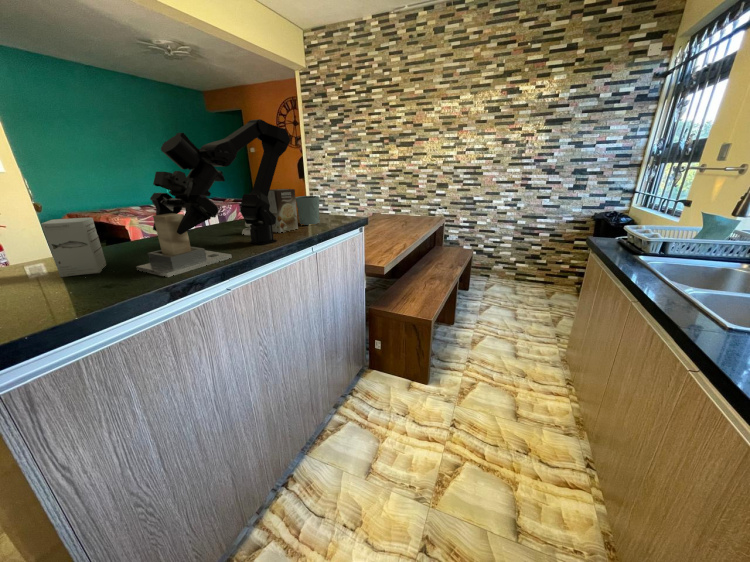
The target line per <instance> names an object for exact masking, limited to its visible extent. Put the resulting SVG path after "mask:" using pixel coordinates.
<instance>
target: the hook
mask: <svg viewBox="0 0 750 562" xmlns="http://www.w3.org/2000/svg"><path fill="white" fill-rule="evenodd" d="M239 213H240V214H241V212H240V209H239ZM250 225H252V224H246V222H245V221H244V226H245V227H247V228H243V229H242V232H241V235H243V234H244V235H243V236H251V235H250V230H251V227H250Z"/></svg>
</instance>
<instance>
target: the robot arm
mask: <svg viewBox="0 0 750 562" xmlns="http://www.w3.org/2000/svg"><path fill="white" fill-rule="evenodd" d="M255 139H257V140H259V141H260V142H261V146H262V149H263V153H262V156H261V160H260V163H259V166H258V170H257V173H256V176H255V179H254V184H253V187H252V190H251V191H250V192H249V193H244V194H243V195H242V199H241V201H240V204H239V207H240V208H239V210H240V211H239V213H240V212H241V213H240V215H242V217H243V220H244V223H245V222H246V224H252V225H250V227H251V230H250V235H249V236H250V240H249V243H250V244H256V245H263V246H264V245H266V244H270V243H275V242H277V241H278V239H275V238H274V232H273V230H272V225H273V224H275V223H276V217H275V216H274V215H273V214H272V213H271V212H270V211H269V209H270V203H269V200H268V194H269V190H270V189H271V186H272V183H273V180H274V175H275V172H276V170H277V169H276V168H277V165H278V162H279V159H280V157H281V156H282V155H283V154H284V153H285V152H286V151H287V149H288V146H289V145H290V140H291V138H290V134H289V132H288V131H287V129H285V128H283V127H279V126H277V125H274V124H271V123H268V122H266V120H263V119H251V120H248V121H247V123H245V124H244V125H243V126H241V127H240V128H238V129H236V130H235V131H233V132H232V133H230V134H229V135H228V136H226V137H225V138H222V139H220V140H216V141H215V140H214V141H212V142H209V143H205V144H204V145H201V147H200V148H198V147H197V146H196V145H195V144H194V143H193V142H192V141H191V140H190V139H189V137H188V136H187V135H186V134H185V133H184V132H177V133H176V134H175V135H174V136H172V137H170V138H169V139H167V141H166V140H165V141H164V142H163V143H162V146H161V147H160V150H161V152H162V153H163V154H164V155H165V156H167V158H169V159H170V160H171V161H172V162H173V163H174V164H176V165H177V167H179V168H180V169H181V170H188V171H189V172H188V174H187V176H186V173H185V172H183V171H181V170H175V171H173V172H167V171H155V173H154V177H153V179H154V180H153V183H152V184H153V186H155V187H160V188H163V189H165V190H168V193H167V192H153V194H152V195H151V196H150V198H149V200H150V201H151V203H152V204H153V205H154V207H155V210H156V211H155V215H162V214H170V213H174V214H180V212H181V211H182V210H183V208H184V210H185V213H184V217H183V219H182V221H181V223H180V225H179V227H178V229H177V233H178V234H180V235H181V234H183V233H185V232H187V233H188V231H191V230H192V229H193V228H195V227H198V225H200V224H202V223H204V222H206V221H209V220H211V219H212V218H216V217H217V216H218V213H219V206H218V205H217V204H216V203H214V201H212V200H211V199H210V198H209V197H210V196H211V195H212V192H210V190H211V187H212V186H213V185H214V183H215V182H225V181H226V179H225V176H224V173H223V171H222V170H218V169H217V167H220V168H225V167H226V168H227V167H229V166H230V165H232V163H233V162H234V161H235V159H237V155H238V153H239V151H241V150H242V149H243V148H245V147H246V146H248V145H249V144H250V143H252V142H253V141H254V140H255ZM173 196H174V197H173ZM250 227H249V228H250ZM152 229H153V231H155V232H157V231H156V227H155V223H154V222H153V226H152Z"/></svg>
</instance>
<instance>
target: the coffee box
mask: <svg viewBox="0 0 750 562" xmlns="http://www.w3.org/2000/svg"><path fill="white" fill-rule="evenodd" d="M295 197H296V189H295V188H274V189H271V188H270V190H269V194H268V200H269V203H270V209H269V211H270V212H271V213H272V214H273V215H274V216H275V217H276V223H275V224H273V225H272V230H273V233H277V232H278V234H282V233H281V232H283V233H287V232H286V231H289V232H291V231H290V230H294V231H296V230H295V229H298V230H299V226H298V210H297V204H296V198H295Z"/></svg>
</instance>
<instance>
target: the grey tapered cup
mask: <svg viewBox="0 0 750 562" xmlns="http://www.w3.org/2000/svg"><path fill="white" fill-rule="evenodd" d="M295 198H296V209H297V215H298V219H299V220H298V221H299V225H300V224H304V225H309V224H317V223H319V224H320V196H319V195H301V196H295Z"/></svg>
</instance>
